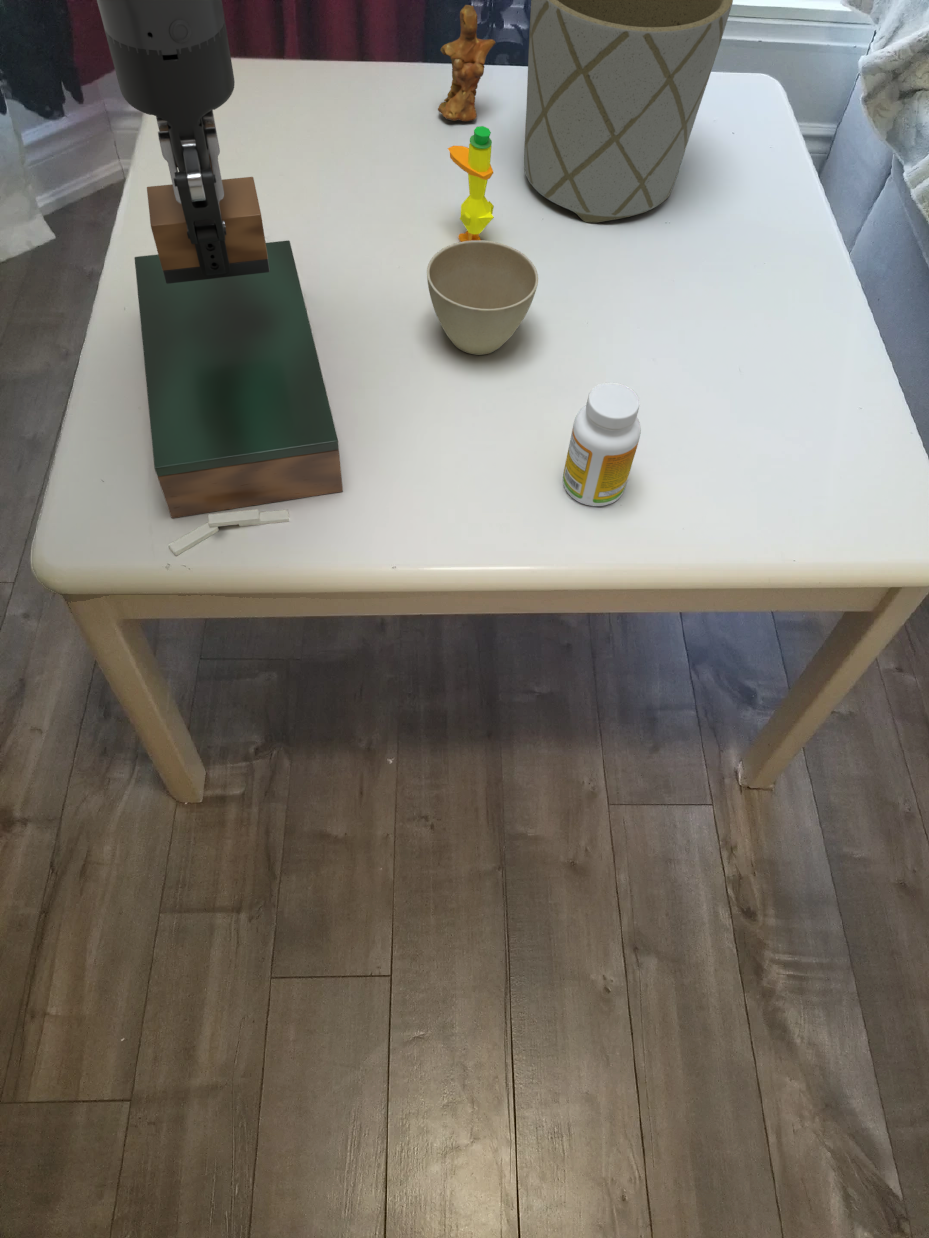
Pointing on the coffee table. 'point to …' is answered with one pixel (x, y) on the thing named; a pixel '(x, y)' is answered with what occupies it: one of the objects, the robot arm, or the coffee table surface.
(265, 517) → the chalk stroke
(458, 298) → the flower pot
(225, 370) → the chalkboard
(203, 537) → the chalk stroke
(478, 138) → the toy figure
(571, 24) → the planter
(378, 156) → the coffee table surface
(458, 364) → the coffee table surface
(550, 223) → the coffee table surface
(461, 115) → the figurine
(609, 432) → the supplement bottle
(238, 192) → the eraser
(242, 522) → the chalk stroke
